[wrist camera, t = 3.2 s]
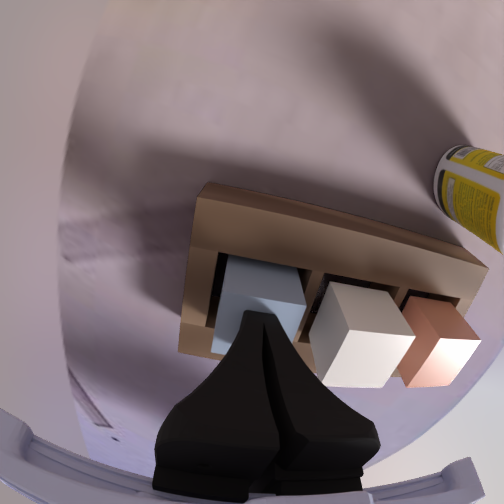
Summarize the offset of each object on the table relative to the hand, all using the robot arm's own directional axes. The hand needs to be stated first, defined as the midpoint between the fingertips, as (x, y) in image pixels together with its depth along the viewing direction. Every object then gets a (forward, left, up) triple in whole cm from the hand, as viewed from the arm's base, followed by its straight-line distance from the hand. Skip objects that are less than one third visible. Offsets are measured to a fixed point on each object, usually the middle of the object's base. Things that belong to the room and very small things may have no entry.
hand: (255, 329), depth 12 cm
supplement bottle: (+8, -11, -6) cm, 15 cm away
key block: (0, -5, -5) cm, 7 cm away
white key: (0, -5, -2) cm, 6 cm away
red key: (0, -10, -2) cm, 10 cm away
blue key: (0, 0, -4) cm, 4 cm away
